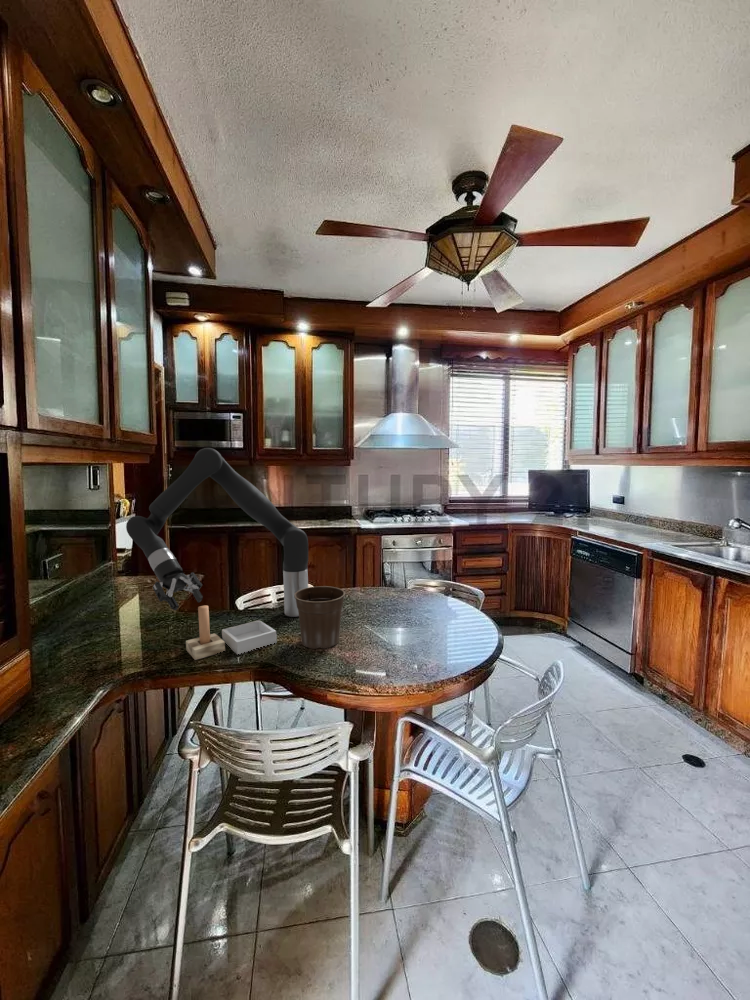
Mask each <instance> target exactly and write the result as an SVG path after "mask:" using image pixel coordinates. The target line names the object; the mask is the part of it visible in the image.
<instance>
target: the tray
mask: <svg viewBox="0 0 750 1000" xmlns="http://www.w3.org/2000/svg"><path fill="white" fill-rule="evenodd" d="M221 637H222V638H221V639H222V640H223V641H224V642H225V643H226V644H227V645H228V646H229V647H230V648H231V649H230V648H229V647H228V646H227V645H226V644H225V645H226V646H227V647H228V648H229V649H230V650H232V651H233V652H234V653H235V654H236V655H237V656H238V654H239V655H242V654H245V653H248V651H249V652H252V651H254V650H253V649H255V650H257V649H256V648H259V649H261V648H260V647H262V648H264V647H263V646H265V647H268V646H267V645H269V646H271V645H270V644H272V645H275V644H277V643H278V641H277V640H278V639H277V630H275V629H274V628H273V627H271V626H270V625H268V624H266V623H265V622H264V621H261V620H260V619H258V620H254V621H250V622H246V623H242V624H239V625H234V626H231V627H226V628H223V629H221ZM274 643H275V644H274ZM251 650H252V651H251ZM244 652H245V653H244ZM241 653H242V654H241Z"/></svg>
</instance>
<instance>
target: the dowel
mask: <svg viewBox="0 0 750 1000" xmlns="http://www.w3.org/2000/svg"><path fill="white" fill-rule="evenodd" d="M209 609H210V608H209V605H200V606H198V607H197V611H198V612H197V615H198V628H199V637H200V645H203V644H207V643H210V634H211V633H210V632H211V631H210V629H211V628H210V611H209Z"/></svg>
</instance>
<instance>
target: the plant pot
mask: <svg viewBox="0 0 750 1000" xmlns="http://www.w3.org/2000/svg"><path fill="white" fill-rule="evenodd" d="M308 587H309V586H308ZM345 596H346V592H345V590H343V589H342V588H339V587H336V586H335V587H334V586H327V585H323V586H322V585H321V586H319V585H318V586H310V587H309V588H304V589H301V590H299V591H297V592H296V593H295V594H294V597H295V599H296V604H297V608H298V613H299V616H298V620H299V628H300V637H301V638H300V640H301V645H303V646H304V647H306V648H309V649H313V650H316V649H318V648H321V649H323V650H324V649H329V648H332V647H334V646H336V645H338V644H339V642H340V631H341V621H342V608H343V606H344V597H345Z"/></svg>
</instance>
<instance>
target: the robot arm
mask: <svg viewBox="0 0 750 1000" xmlns="http://www.w3.org/2000/svg"><path fill="white" fill-rule="evenodd" d="M208 478H211V479H212V480H213V481H215V482H216V483H217V484H219V486H221V488H222V489H223V490H224V491H225V492H226V493H227V494H228V496H229V497H230V498H231V499H232V500H233V502H234V503H235V504H236V505H237V506H238V507H239V508H240V509H241V510H243V512H245V513H246V514H247V515H248V516H249V517H250V518H252V519H253V520H255V521H256V522H257V523H259V524H260V525H262V526H263V527H264V528H266V529H268V531H270V532H271V533H272V534H273V535H274V536H275V538H276V539H277V540H278V541H279V542H280V544H281V545H282V546H283V562H282V573H283V574H282V576H283V600H284V601H283V604H284V606H283V607H284V608H283V609H284V615H285V616H287V617H292V618H293V617H299V613H298V608H297V604H296V599H295V597H294V594H295V593H296V592H297V591H299V590H301V589H304V588H309V576H308V572H309V571H308V565H309V564H308V563H309V539H308V538H309V537H308V535H307V533H306V532H305V531H304V530H302V529H301V528H299V527H298V526H296V525H295V524H293V523H292V522H290V520H288V519H287V518H286V517H285V516H284V515H282V514H281V513H280V511H279V510H278V508H276V506H275V505H274V504H273V502H272V501H271V500H270V499H269V498H268V497H267V496H266V495H265V494H264V493H263V492H261V490H259V489H258V488H257V486H255V485H254V484H253V483H251V482H250V481H249V480H248V479H246V478H244V477H243V476H242V475H240V474H239V473H238V472H237V471H235V469H234V468H233V467H232V466H231V465H230V464H229V463H228V462H227V461H226V460H225V458H224V457H223V456H222V454H221V453H220V452H219V451H218V450H216V449H215V448H211V447H204V448H201V449H199V450H198V451H196V453H195V455H194V457H193V459H192V460H191V462H190V463H189V464H188V465H187V468H186V469H185V470H184V471H183V472H182V473H181V474H180V476H178V477H177V479H175V480H174V481H173V482H172V483H171V484H170V485H168V486H167V487H166V488H165V489H164V490H163V491H162V492H161V493H160V494H159V495H158V496H157V497H156V498H155V500H153V502H151V503H150V505H149V507H148V510H149V511H150V515H149V516H148V517H145V516H141V515H134V516H131V517H130V518H129V519H128V520H127V521H126V525H125V529H126V532H127V534H128V535H129V537H130V539H132V541H133V542H134V543H135V545H137V547H139V548H140V549H141V550H142V552H143V554H144V556H145V557H146V559H147V561H148V563H149V566H150V568H151V569H152V571H153V572H154V573H153V574H155V576H156V578H157V579H158V580H159V581H155V583H154V584H153V586H152V589H153V591H154V593H155V595H156V598H158V600H159V602H161V603H162V602H163V601H164V602H167V603H168V605H169V607H170V608H171V610H173V611H177V610H178V609H179V607H180V605H179V603H178V602H177V600H176V599H175V597H174V596H173V595H174V593H175V594H176V593H177V592H181V591H183V590H184V591H186V592H189V593H192V595H193V597H194V598H195V600H196V602H197V603H201V602H202V600H203V598H204V595H203V594H202V593H201V591H200V589H201V588H202V587H203V583H202V582H201V581H200V579H199V578H198V577H197V575H196V574H195V572H191V573H190V574H188V575H186V574H185V573H184V571H183V567H181V565H180V563H179V562H178V560H177V557H175V555H174V553H173V552H172V551H171V550H170V548H169V547H168V546H167V544H166V542H165V541H164V539H163V538H162V537H160V536H159V533H160V531H161V530H162V528H163V527H164V525H165V524H166V521H167V519H168V518H169V517H170V516H171V515H172V514H173V513H174V512H175V511H176V510H177V509H178V508H179V506H180V505H181V504H182V503H183V502H184V501H185V500H186V499H187V497H189V495H190V494H191V493H192V492H193V491H194V490H195V489H196V488H197V487H198V486H199V485H200V484H202V482H203V481H205V480H206V479H208ZM164 588H165V590H166V593H165V590H164Z"/></svg>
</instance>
